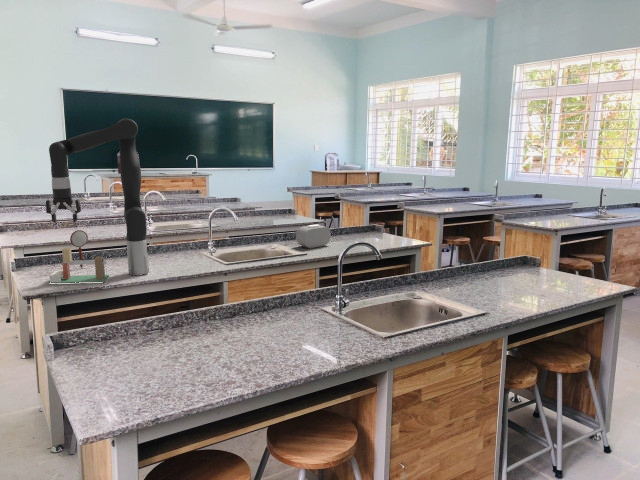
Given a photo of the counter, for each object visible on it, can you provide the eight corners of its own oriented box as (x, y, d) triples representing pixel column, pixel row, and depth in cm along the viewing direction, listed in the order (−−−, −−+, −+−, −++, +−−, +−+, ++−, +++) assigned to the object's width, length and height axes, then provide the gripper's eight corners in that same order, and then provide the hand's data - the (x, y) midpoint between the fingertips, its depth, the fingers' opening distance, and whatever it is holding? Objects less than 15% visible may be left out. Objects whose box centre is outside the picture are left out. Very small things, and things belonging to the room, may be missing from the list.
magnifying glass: (73, 270, 259) (70, 231, 255) (72, 269, 260) (68, 231, 256) (90, 267, 265) (87, 229, 261) (89, 266, 267) (86, 228, 262)
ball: (59, 268, 242) (55, 274, 242) (57, 270, 238) (52, 277, 238) (67, 273, 243) (62, 279, 243) (64, 275, 239) (59, 282, 239)
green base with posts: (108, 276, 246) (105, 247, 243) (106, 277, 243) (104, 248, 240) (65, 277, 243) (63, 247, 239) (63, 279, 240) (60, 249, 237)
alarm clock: (320, 242, 331) (321, 222, 328) (330, 245, 324) (330, 224, 321) (295, 246, 318) (295, 225, 315) (304, 249, 311) (305, 228, 308)
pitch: (109, 276, 250) (107, 254, 247) (103, 283, 239) (101, 260, 237) (56, 278, 246) (54, 255, 243) (48, 285, 235) (46, 261, 233)
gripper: (80, 186, 237) (83, 220, 241) (47, 186, 235) (51, 221, 238) (75, 187, 230) (79, 223, 234) (41, 188, 228) (45, 224, 231)
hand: (64, 222), depth 236 cm, fingers open, 8 cm apart
